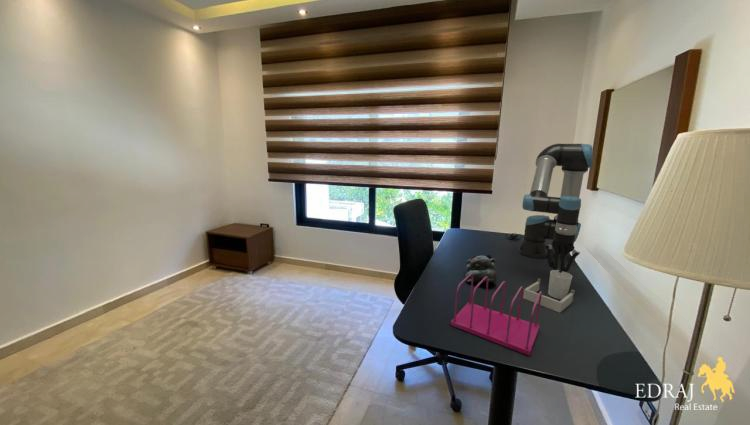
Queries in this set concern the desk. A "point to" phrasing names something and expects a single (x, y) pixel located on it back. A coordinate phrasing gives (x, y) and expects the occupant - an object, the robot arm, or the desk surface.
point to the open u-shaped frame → (547, 298)
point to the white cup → (559, 284)
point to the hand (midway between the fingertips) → (556, 284)
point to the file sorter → (497, 321)
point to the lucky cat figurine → (481, 269)
